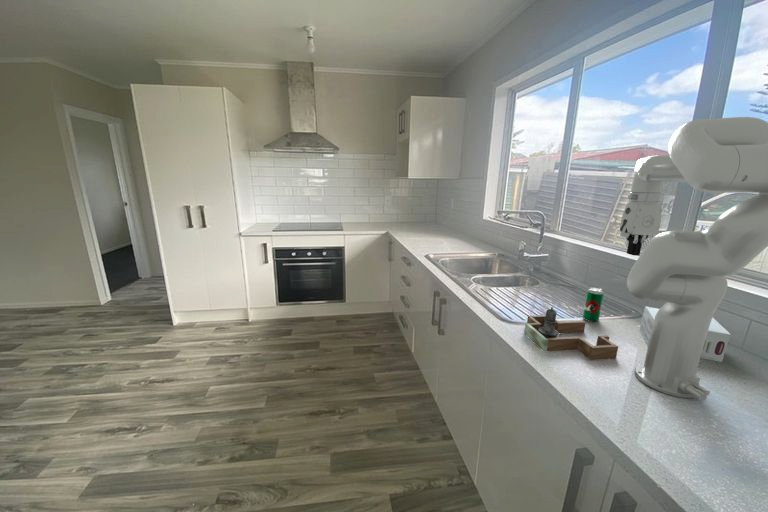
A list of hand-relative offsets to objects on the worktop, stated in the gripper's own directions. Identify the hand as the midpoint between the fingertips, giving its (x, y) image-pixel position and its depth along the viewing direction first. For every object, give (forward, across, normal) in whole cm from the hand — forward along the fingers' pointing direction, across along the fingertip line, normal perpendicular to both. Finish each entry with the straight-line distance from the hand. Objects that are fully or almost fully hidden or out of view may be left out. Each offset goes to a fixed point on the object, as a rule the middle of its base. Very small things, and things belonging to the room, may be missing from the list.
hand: (632, 254), depth 100 cm
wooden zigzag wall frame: (+27, -24, -6) cm, 37 cm away
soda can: (+27, -4, +8) cm, 29 cm away
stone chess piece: (+27, -30, -6) cm, 41 cm away
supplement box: (+28, +10, -12) cm, 32 cm away
